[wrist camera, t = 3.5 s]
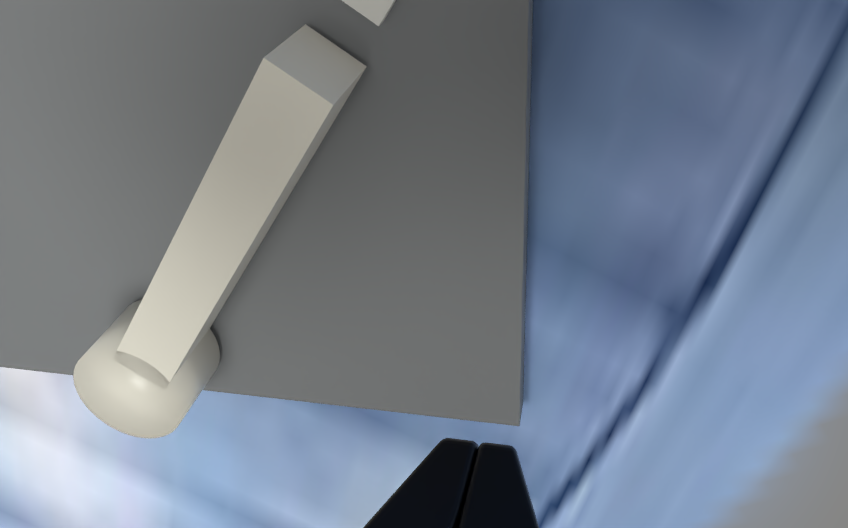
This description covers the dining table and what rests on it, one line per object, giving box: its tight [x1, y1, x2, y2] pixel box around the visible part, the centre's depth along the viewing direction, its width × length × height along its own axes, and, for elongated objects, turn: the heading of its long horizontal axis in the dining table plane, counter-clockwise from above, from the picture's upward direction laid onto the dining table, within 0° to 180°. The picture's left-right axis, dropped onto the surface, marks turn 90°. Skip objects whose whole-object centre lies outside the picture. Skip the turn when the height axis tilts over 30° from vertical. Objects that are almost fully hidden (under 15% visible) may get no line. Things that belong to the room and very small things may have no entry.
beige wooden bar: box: [73, 24, 367, 438], centre depth 19 cm, size 13×3×2 cm, turn 148°
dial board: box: [0, 0, 533, 426], centre depth 20 cm, size 16×21×2 cm
